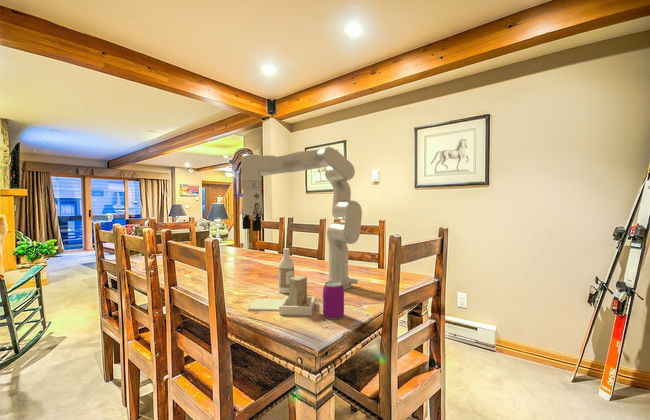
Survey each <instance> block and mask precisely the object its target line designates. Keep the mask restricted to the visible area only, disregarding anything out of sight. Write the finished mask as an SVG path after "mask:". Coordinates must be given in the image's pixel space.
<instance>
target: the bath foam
mask: <svg viewBox="0 0 650 420" xmlns="http://www.w3.org/2000/svg"><path fill="white" fill-rule="evenodd" d="M290 251H291V250H290V247H289V248H287V247H285V248H284V247H283V256H282V258H281V260H280V261H279V265H278V266H279V267H278V287H279V288H278V292H279V293H281V294H289V279H290V278H293V277H295V264H294V263H295V262H294V261H293V259H292V258H291V255H290V253H291V252H290Z"/></svg>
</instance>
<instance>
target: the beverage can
mask: <svg viewBox="0 0 650 420" xmlns="http://www.w3.org/2000/svg"><path fill="white" fill-rule="evenodd" d="M322 314H323V316H324V317H325V318H326V319H327V320H330V321H331V320H332V321H333V320H334V321H336V320H340V319H341V318H342V317H344V315H345V290H344V288H343V285H342V283H341V282H337V281H329V280H328V281H326V282H324V285H323V289H322Z"/></svg>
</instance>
